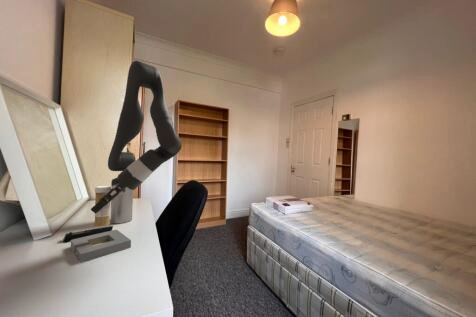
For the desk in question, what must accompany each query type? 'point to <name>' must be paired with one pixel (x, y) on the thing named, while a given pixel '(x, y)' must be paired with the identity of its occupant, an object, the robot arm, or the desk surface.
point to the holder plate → (99, 245)
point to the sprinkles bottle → (104, 214)
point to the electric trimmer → (86, 233)
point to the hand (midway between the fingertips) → (96, 209)
